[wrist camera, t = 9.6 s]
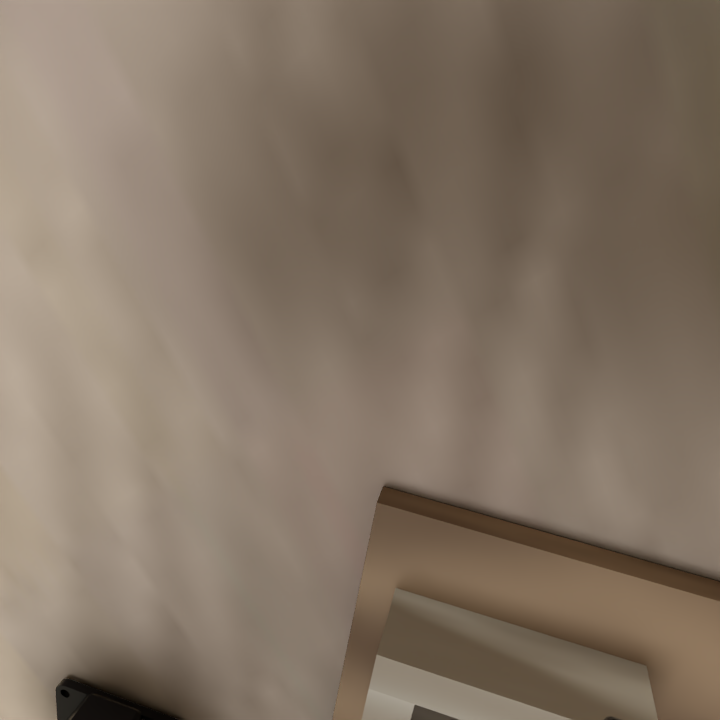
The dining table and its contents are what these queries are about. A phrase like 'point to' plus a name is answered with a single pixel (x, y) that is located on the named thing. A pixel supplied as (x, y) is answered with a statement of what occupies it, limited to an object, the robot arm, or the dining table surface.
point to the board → (521, 626)
